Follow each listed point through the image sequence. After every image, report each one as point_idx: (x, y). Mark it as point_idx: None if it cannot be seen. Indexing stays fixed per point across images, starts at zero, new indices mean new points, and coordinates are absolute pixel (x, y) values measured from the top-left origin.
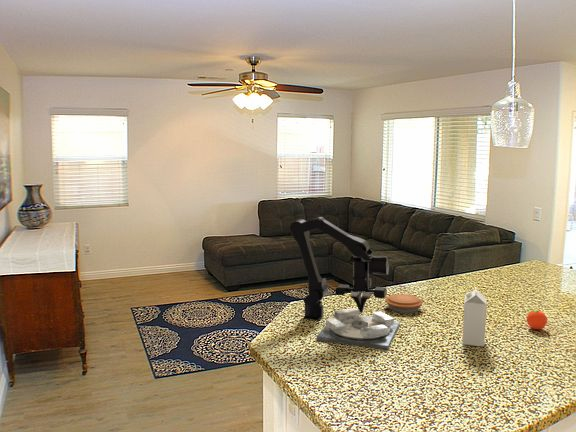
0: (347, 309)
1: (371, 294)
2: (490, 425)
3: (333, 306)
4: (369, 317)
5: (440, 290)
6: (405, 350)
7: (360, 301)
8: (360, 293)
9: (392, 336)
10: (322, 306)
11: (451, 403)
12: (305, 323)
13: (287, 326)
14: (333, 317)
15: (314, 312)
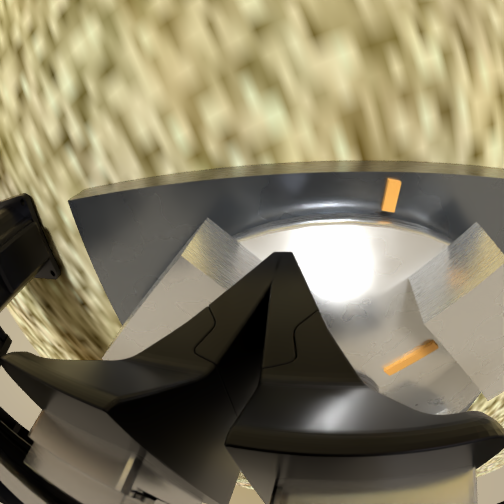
0: (145, 321)
1: (488, 458)
2: (497, 468)
3: (5, 19)
4: (378, 257)
5: None
6: (490, 407)
7: (243, 388)
8: (125, 436)
9: (480, 392)
10: (1, 272)
11: (481, 468)
12: (60, 316)
13: (55, 348)
14: (98, 271)
15: (21, 288)
